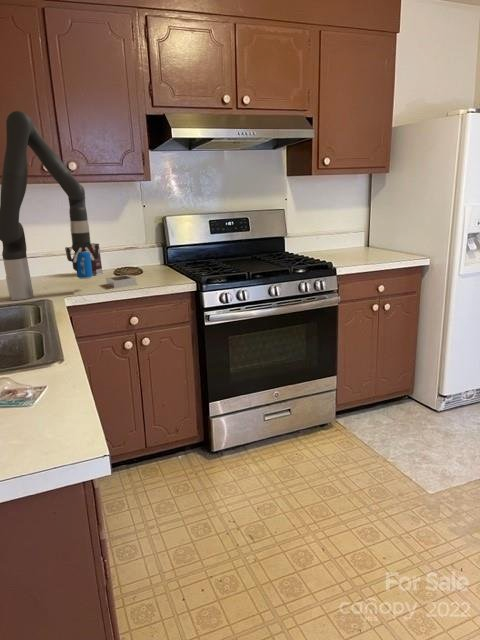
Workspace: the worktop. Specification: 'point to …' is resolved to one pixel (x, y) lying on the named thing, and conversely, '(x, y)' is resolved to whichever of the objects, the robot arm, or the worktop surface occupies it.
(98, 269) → the supplement box
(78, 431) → the worktop surface
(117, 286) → the metal collar
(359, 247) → the worktop surface
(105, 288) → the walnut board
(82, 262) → the beverage can
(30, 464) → the worktop surface
